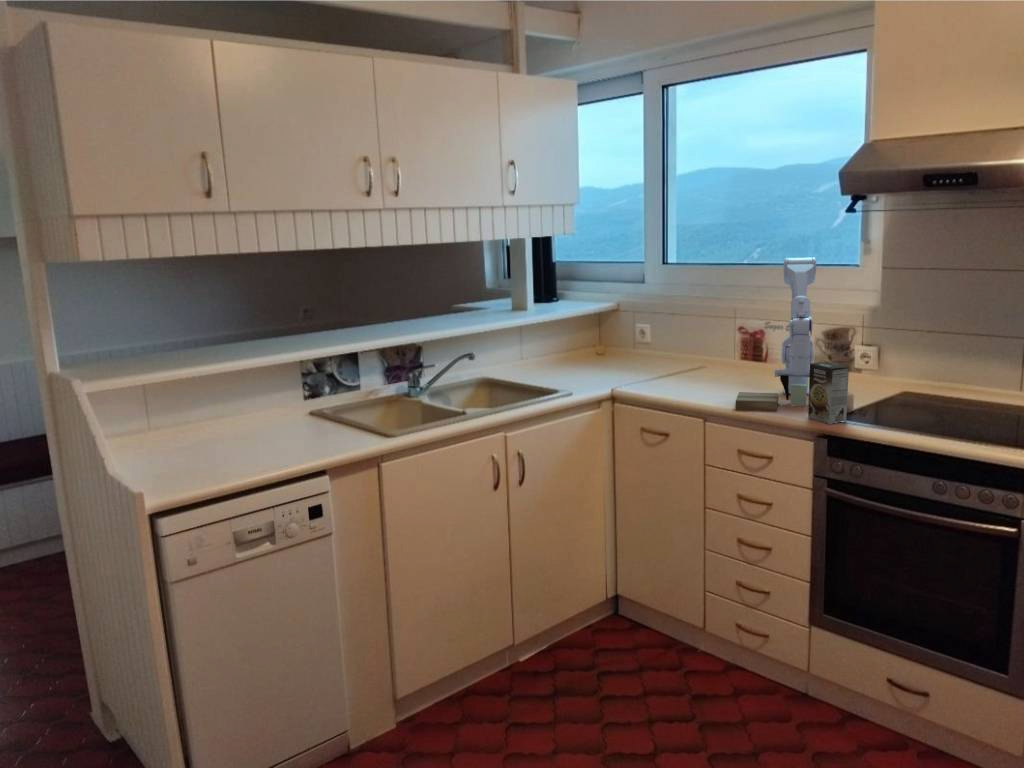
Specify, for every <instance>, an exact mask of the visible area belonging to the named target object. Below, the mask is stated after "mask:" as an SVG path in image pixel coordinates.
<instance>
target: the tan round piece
mask: <svg viewBox="0 0 1024 768" xmlns="http://www.w3.org/2000/svg"><path fill="white" fill-rule="evenodd" d="M854 401H855V394H854V393H853V392H848V395H847V413H851V412H850V411H853V412H854V405H855V404H854V403H855V402H854Z"/></svg>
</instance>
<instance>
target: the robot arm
mask: <svg viewBox="0 0 1024 768" xmlns="http://www.w3.org/2000/svg"><path fill="white" fill-rule="evenodd" d="M816 275H817V258H816V257H815V256H813V257H785V258H784V259H783V281H784V284H785V285H787V286H789V288H790V290H791V300H790V319H789V322H788V324H789V325H788V326H789V328H788V333H789V335H788V337H786V338H785V339H784V340H782V341H783V342H781V343H782V344H781V363H782V365H785V366H784V367H785V369H784V368H783V369H782V368H781V369H774V377H775V378H777V377H779V380H780V383H781V384H782V387H783V394H785V399H786V401H789V400H790V395H791V384H807V395H809V375H810V364H811V363H814V351H815V350H814V342H813V340H812V339H811V336H813V335H812V334H813V319H812V318H813V317H812V314H811V301H810V299H809V298H808V297H807V293H808V292H807V290H808V286H809V285H812V284H814V281H815V280H816Z"/></svg>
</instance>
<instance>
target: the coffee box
mask: <svg viewBox="0 0 1024 768" xmlns="http://www.w3.org/2000/svg"><path fill="white" fill-rule="evenodd" d="M809 370H810V375H809V377H808V387H809V394H808V406H807V407H808V409H807V410H808V412H807V413H808V414H807V417H808V419H811V420H815V421H816V422H820V421H821V422H820V423H824V424H826V423H827V425H833V424H832V423H836V422H841V421H846V422H847V414H848V412H847V395H848V393H849V376H850V375H849V372H850V367H849V366H846V365H844V364H843V365H842V364H838V363H833V362H829V361H824V362H821V361H820V362H813V363H811V364H809ZM836 424H837V423H836Z"/></svg>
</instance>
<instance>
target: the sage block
mask: <svg viewBox="0 0 1024 768" xmlns="http://www.w3.org/2000/svg"><path fill="white" fill-rule="evenodd" d="M807 395H808V394H807V384H791V394H790V406H791V405H796V407H807V397H808V396H807Z"/></svg>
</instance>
